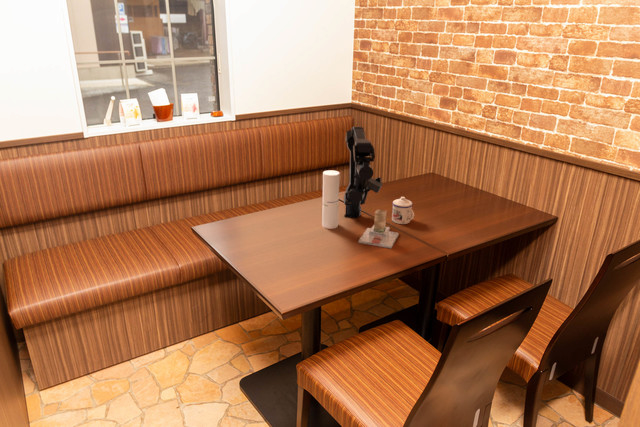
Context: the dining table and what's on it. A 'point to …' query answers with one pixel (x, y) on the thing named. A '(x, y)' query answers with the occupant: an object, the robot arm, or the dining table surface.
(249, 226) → the dining table surface
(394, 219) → the teacup with lid
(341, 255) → the dining table surface
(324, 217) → the cylindrical container
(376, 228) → the post
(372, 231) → the sleeve stand
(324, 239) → the dining table surface
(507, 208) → the dining table surface
